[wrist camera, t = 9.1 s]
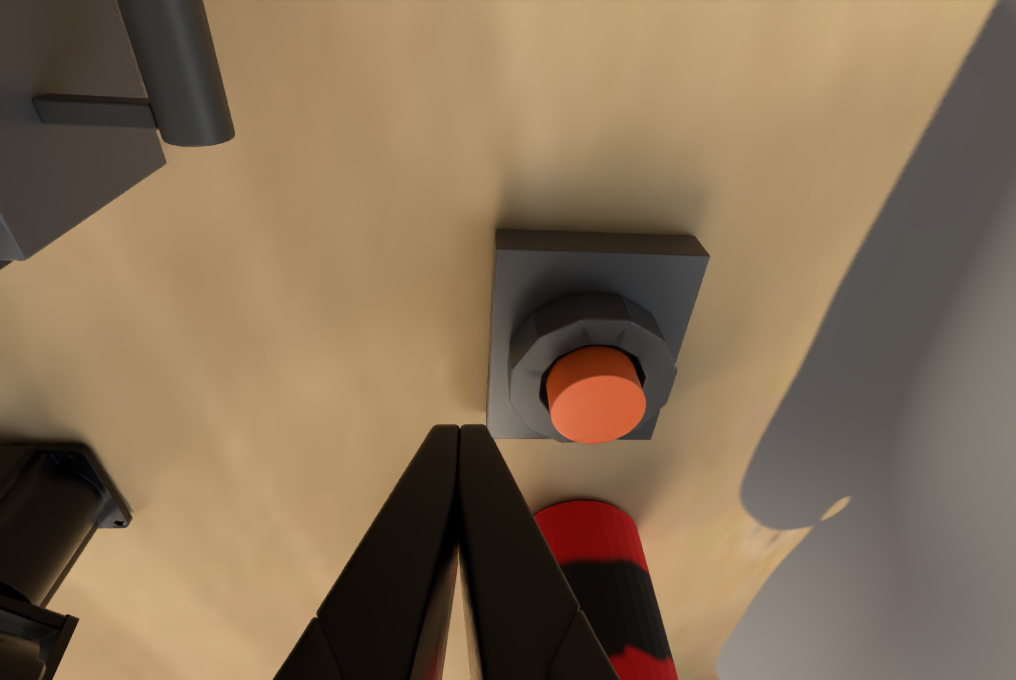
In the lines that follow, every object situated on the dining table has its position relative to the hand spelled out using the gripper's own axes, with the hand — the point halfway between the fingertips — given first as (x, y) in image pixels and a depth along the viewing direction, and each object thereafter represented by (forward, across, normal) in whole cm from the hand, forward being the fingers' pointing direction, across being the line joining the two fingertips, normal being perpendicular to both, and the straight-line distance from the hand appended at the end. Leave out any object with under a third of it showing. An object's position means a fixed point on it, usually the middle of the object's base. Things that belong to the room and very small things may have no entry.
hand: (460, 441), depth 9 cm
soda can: (+13, -6, +23) cm, 27 cm away
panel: (+13, -5, +7) cm, 16 cm away
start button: (+10, -5, +7) cm, 13 cm away
